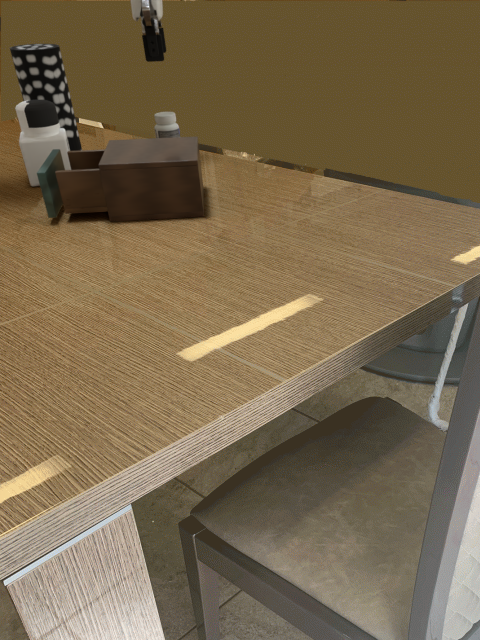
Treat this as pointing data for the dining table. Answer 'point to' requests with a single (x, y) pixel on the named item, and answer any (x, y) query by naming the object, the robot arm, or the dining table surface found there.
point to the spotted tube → (46, 83)
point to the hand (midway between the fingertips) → (156, 56)
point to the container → (40, 135)
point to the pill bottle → (166, 125)
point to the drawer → (72, 183)
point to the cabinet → (152, 179)
